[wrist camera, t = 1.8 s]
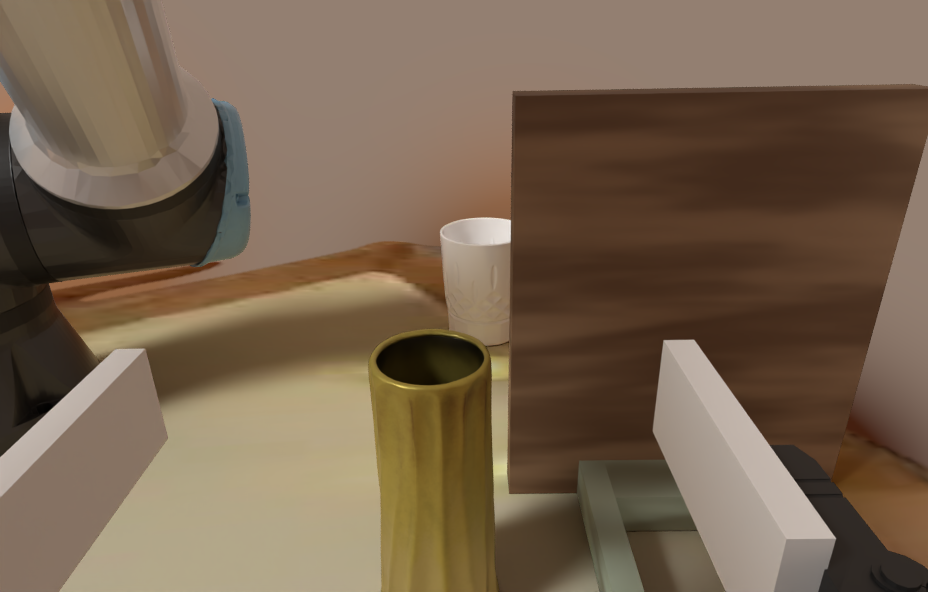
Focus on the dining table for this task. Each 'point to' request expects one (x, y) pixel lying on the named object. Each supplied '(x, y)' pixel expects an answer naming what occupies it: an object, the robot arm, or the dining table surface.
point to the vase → (434, 462)
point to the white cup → (478, 277)
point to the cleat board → (693, 276)
